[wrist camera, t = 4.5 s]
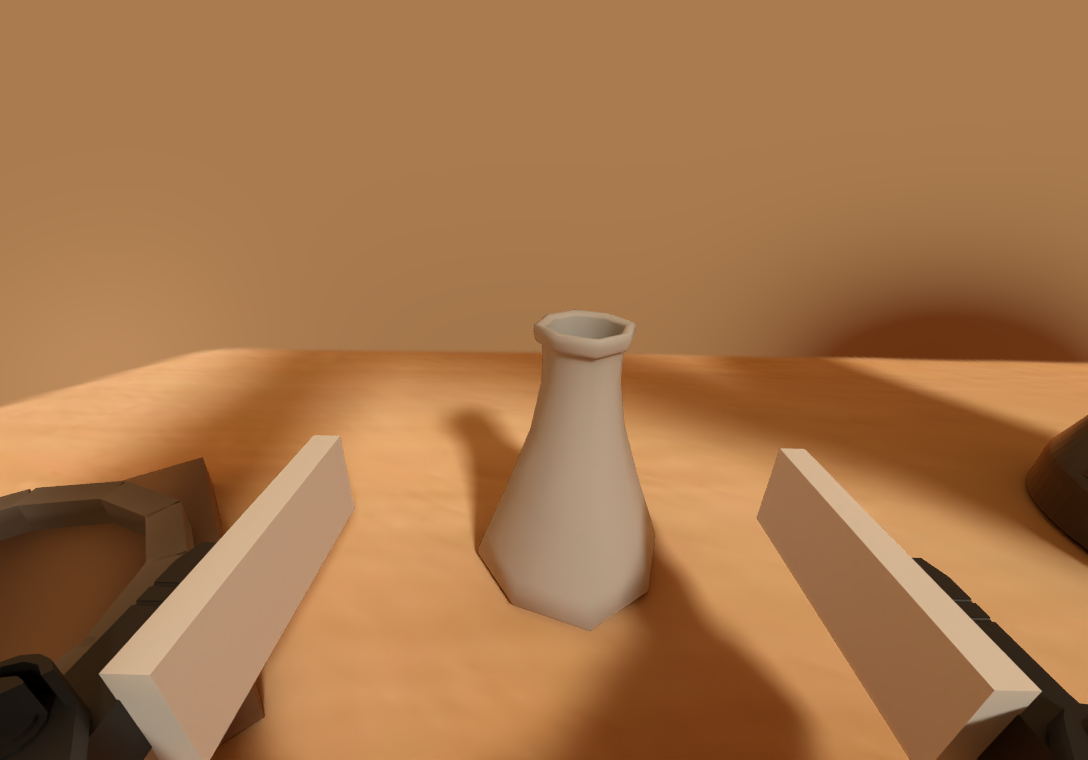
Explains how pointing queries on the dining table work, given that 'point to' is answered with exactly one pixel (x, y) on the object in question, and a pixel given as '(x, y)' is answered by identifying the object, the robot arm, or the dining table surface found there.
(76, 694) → the robot arm
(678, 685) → the dining table surface
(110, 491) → the walnut seat board
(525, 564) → the flask
